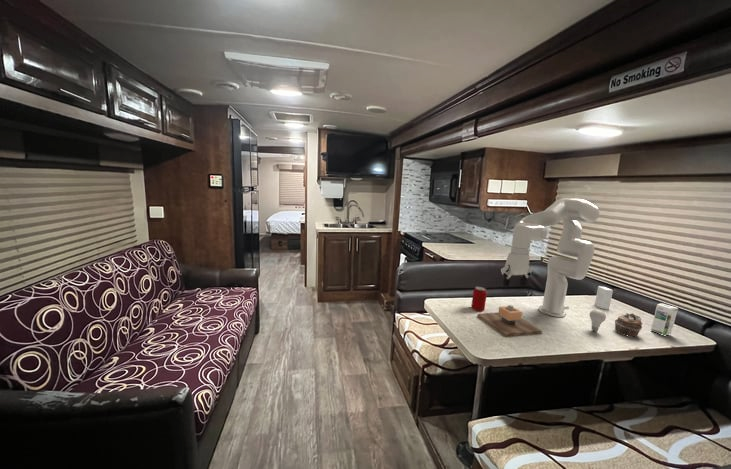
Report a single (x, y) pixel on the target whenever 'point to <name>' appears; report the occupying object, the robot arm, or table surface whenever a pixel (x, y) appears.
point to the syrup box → (664, 319)
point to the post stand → (509, 324)
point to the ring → (510, 313)
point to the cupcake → (628, 324)
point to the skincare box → (603, 297)
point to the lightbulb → (597, 318)
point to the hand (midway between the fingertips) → (514, 285)
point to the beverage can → (479, 298)
